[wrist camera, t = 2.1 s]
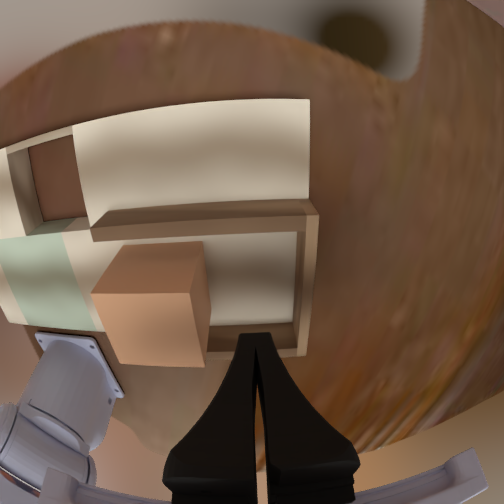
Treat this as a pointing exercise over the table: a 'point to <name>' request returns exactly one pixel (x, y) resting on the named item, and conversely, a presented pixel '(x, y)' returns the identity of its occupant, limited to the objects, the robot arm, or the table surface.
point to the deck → (158, 194)
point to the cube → (156, 304)
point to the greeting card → (491, 8)
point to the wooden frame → (233, 222)
